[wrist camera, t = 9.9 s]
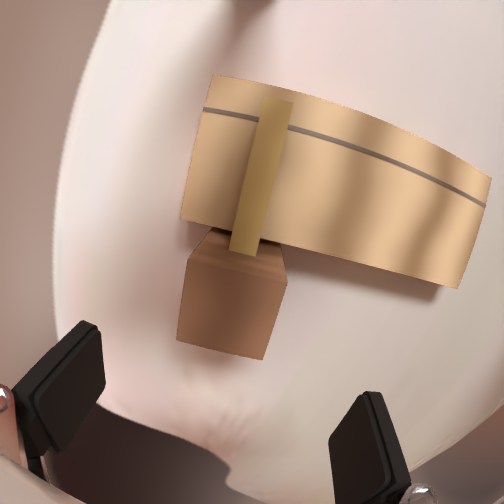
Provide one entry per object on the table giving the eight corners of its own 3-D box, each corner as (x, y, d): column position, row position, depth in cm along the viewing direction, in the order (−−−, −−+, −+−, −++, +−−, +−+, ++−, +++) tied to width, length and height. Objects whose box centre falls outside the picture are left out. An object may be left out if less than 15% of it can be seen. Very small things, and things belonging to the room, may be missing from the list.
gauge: (309, 123, 19) (335, 101, 11) (263, 298, 23) (262, 360, 15) (241, 107, 19) (228, 75, 11) (202, 284, 23) (176, 340, 15)
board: (474, 175, 19) (492, 178, 17) (443, 278, 22) (457, 289, 19) (218, 84, 18) (212, 74, 16) (188, 212, 21) (179, 218, 19)
